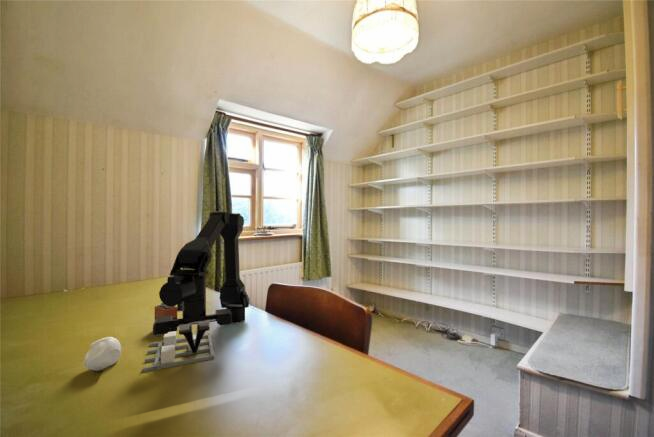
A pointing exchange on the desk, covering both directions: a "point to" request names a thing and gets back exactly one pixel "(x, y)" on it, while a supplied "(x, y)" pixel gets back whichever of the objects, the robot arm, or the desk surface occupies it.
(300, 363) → the desk surface
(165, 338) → the cream squarish block
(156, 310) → the battery
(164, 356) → the cream block
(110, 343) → the white rounded piece
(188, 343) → the beige squarish block
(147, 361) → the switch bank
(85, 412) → the desk surface
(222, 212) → the robot arm
